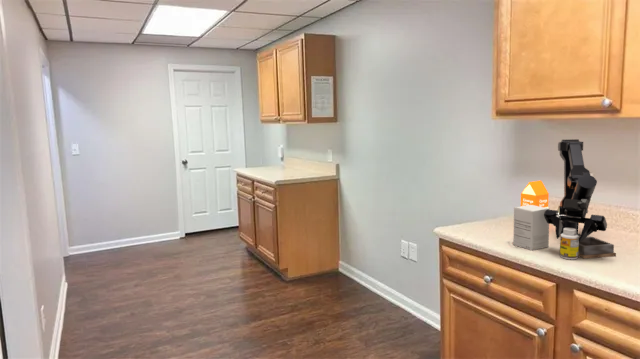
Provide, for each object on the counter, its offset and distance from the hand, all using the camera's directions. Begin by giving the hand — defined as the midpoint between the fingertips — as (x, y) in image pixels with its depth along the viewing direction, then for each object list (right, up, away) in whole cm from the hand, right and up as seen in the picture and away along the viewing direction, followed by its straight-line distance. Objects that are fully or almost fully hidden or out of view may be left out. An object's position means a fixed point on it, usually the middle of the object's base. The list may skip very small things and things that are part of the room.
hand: (568, 239), depth 152 cm
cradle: (+11, -5, +7) cm, 14 cm away
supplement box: (-5, -5, +17) cm, 18 cm away
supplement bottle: (+1, -7, +2) cm, 7 cm away
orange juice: (+11, 0, +48) cm, 49 cm away
